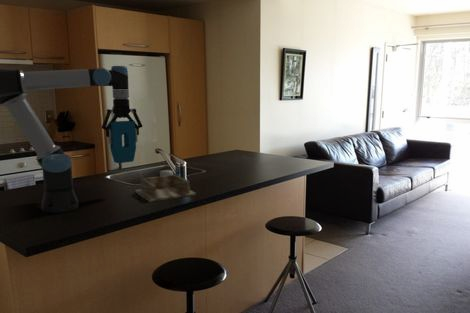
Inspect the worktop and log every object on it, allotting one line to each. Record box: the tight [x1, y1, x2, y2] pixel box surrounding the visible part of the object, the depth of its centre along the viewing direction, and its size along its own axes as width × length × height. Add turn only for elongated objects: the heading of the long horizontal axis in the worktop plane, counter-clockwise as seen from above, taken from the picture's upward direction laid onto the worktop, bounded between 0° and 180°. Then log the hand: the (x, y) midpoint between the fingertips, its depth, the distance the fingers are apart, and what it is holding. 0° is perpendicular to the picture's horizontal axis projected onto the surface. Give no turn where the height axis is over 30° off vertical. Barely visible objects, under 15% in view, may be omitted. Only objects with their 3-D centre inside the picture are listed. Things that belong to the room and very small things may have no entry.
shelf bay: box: [135, 174, 197, 203], centre depth 201 cm, size 24×22×7 cm
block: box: [108, 120, 137, 164], centre depth 197 cm, size 12×5×20 cm, turn 133°
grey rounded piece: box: [159, 169, 174, 177], centre depth 218 cm, size 7×7×8 cm
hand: (123, 142), depth 197 cm, fingers closed on block, 12 cm apart
